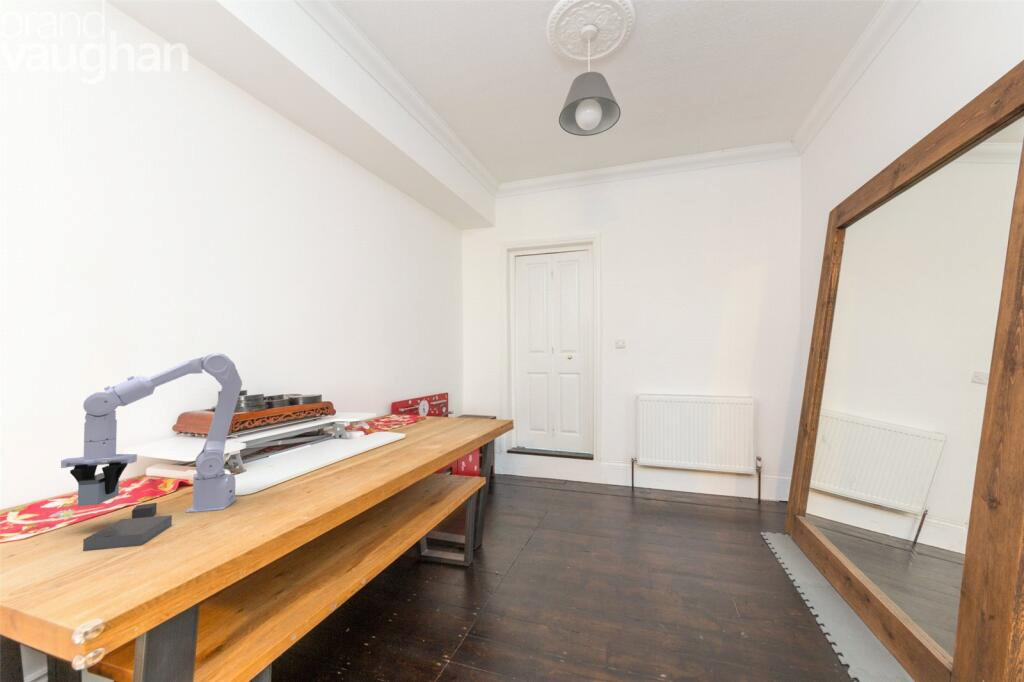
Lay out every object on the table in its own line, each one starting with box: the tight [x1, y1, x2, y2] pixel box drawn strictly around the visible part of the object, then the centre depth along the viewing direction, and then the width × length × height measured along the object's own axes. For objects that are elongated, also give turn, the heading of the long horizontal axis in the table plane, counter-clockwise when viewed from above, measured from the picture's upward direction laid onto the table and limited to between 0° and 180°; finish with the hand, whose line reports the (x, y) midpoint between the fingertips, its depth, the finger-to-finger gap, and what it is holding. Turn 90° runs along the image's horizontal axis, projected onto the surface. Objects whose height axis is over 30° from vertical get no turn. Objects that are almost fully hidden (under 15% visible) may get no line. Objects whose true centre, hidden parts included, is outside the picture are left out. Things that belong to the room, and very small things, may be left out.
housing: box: [77, 472, 120, 507], centre depth 100 cm, size 4×7×6 cm, turn 14°
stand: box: [82, 514, 173, 552], centre depth 94 cm, size 11×11×2 cm
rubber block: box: [131, 502, 157, 519], centre depth 107 cm, size 4×4×3 cm
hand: (99, 493), depth 100 cm, fingers closed on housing, 4 cm apart
